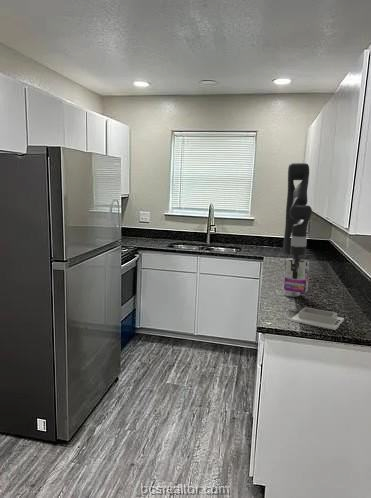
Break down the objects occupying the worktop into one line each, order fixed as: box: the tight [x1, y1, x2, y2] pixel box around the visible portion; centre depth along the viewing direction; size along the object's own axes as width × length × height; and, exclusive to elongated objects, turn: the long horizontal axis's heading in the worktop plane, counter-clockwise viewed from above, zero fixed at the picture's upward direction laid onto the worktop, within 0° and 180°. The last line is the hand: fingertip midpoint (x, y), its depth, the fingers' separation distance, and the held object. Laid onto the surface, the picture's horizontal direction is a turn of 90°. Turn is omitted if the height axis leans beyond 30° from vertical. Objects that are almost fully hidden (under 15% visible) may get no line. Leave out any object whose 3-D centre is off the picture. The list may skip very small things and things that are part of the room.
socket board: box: [290, 306, 345, 331], centre depth 174 cm, size 16×20×4 cm
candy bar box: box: [283, 257, 310, 294], centre depth 191 cm, size 11×5×16 cm, turn 56°
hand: (296, 277), depth 191 cm, fingers closed on candy bar box, 5 cm apart
